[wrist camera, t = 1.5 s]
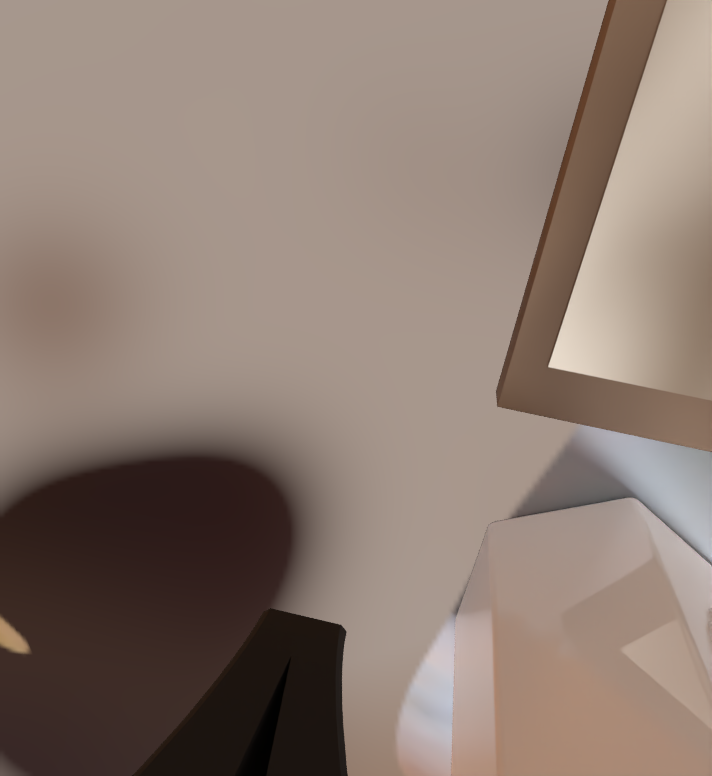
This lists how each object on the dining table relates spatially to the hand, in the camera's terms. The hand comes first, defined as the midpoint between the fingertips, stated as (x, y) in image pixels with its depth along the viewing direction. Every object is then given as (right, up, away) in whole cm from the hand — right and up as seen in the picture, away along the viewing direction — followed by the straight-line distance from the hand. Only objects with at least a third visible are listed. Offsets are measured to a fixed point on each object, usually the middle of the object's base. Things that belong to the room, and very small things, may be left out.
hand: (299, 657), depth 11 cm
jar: (+9, -2, +11) cm, 14 cm away
